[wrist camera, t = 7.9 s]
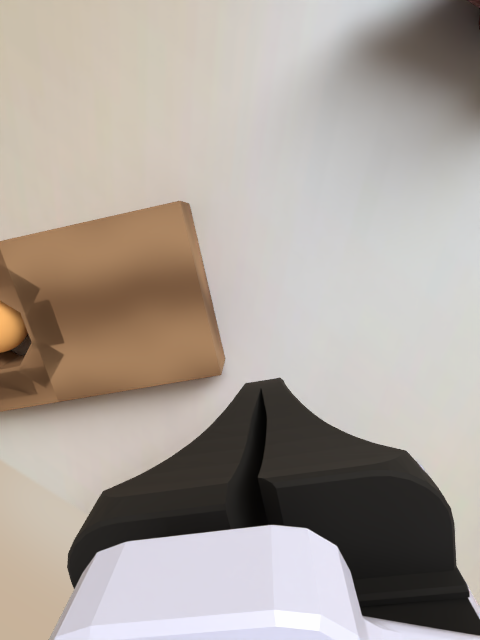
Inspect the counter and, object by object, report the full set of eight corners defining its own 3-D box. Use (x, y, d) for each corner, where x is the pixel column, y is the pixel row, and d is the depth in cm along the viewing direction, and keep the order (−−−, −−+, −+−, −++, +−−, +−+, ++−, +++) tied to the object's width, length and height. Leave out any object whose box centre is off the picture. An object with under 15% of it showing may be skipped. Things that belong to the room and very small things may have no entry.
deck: (225, 358, 23) (221, 374, 20) (-9, 398, 24) (-38, 417, 22) (189, 203, 20) (179, 200, 18) (-69, 261, 22) (-109, 265, 19)
